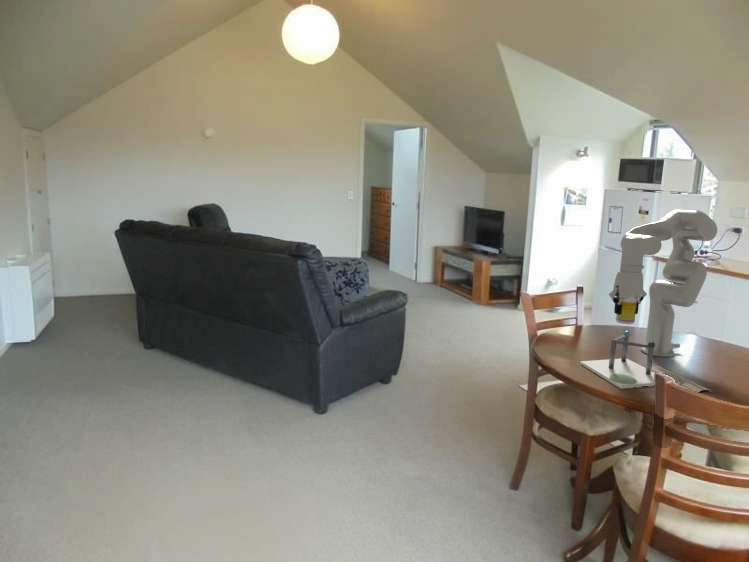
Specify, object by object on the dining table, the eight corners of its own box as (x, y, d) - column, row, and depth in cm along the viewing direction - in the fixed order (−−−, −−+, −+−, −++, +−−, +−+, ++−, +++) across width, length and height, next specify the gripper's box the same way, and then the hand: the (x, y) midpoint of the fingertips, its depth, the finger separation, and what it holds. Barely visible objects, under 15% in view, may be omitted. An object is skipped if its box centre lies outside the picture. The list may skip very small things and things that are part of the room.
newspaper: (711, 393, 186) (711, 388, 185) (694, 395, 184) (695, 390, 184) (660, 369, 208) (661, 365, 208) (645, 371, 206) (646, 366, 206)
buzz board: (625, 360, 215) (626, 357, 215) (671, 384, 191) (672, 380, 191) (580, 364, 211) (580, 360, 211) (620, 388, 187) (621, 384, 187)
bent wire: (624, 360, 213) (627, 329, 210) (653, 374, 197) (657, 342, 195) (597, 361, 210) (600, 331, 208) (624, 377, 195) (628, 344, 192)
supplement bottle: (636, 325, 202) (640, 292, 200) (617, 324, 204) (621, 291, 201) (631, 320, 209) (635, 289, 206) (613, 319, 210) (617, 288, 207)
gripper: (643, 266, 207) (638, 310, 211) (604, 267, 204) (600, 311, 207) (657, 269, 200) (651, 315, 204) (617, 270, 197) (612, 316, 200)
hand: (625, 313), depth 205 cm, fingers closed on supplement bottle, 6 cm apart
